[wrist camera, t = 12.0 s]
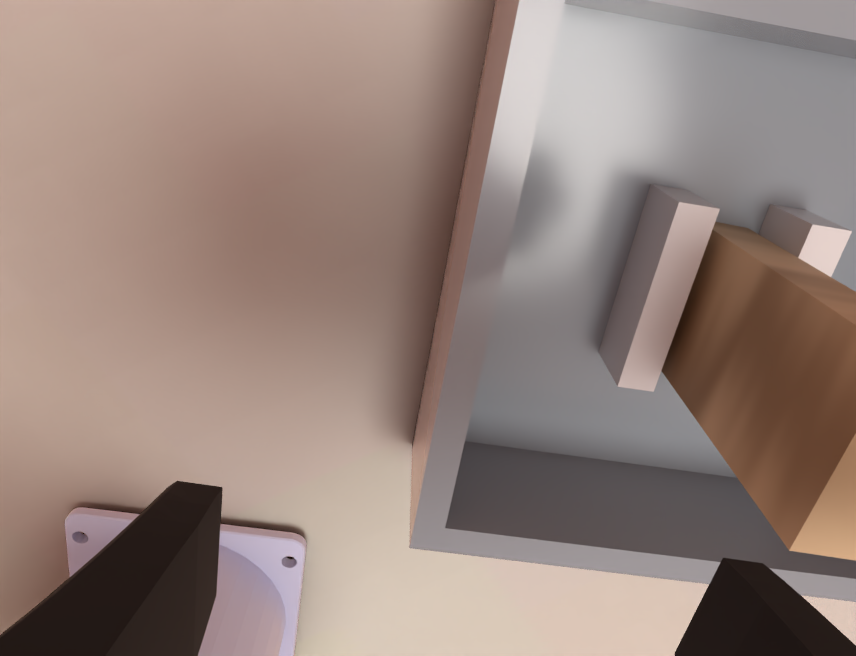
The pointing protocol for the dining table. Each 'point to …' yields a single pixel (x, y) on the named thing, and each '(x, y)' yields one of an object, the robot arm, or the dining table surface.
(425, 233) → the dining table surface
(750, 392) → the wooden plank block
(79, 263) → the dining table surface
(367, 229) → the dining table surface
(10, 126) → the dining table surface
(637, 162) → the shallow gray planter box
